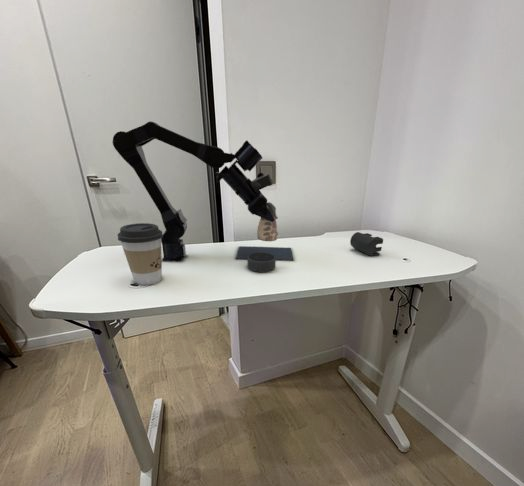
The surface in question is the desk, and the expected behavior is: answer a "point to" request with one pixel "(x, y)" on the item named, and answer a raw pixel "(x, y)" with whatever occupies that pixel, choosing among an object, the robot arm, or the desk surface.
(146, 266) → the coffee cup
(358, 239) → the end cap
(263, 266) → the smart speaker
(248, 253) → the mat
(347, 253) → the desk surface
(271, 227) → the figurine
